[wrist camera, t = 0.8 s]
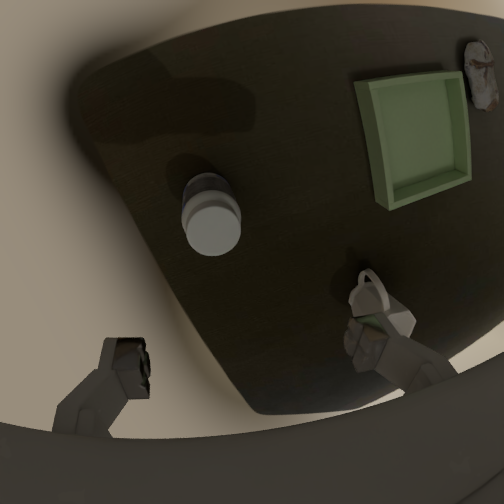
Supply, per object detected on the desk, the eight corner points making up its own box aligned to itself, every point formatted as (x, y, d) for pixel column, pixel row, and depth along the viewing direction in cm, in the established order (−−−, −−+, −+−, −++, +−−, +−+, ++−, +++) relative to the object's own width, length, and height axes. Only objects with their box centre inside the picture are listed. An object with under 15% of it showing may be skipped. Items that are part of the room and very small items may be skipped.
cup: (343, 323, 41) (368, 364, 34) (330, 268, 36) (360, 309, 29) (386, 302, 41) (415, 339, 34) (380, 245, 36) (416, 280, 29)
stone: (449, 43, 25) (464, 43, 22) (480, 38, 24) (494, 38, 22) (468, 114, 30) (482, 117, 27) (496, 102, 29) (509, 105, 27)
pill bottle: (174, 185, 28) (168, 219, 21) (219, 163, 28) (229, 189, 21) (196, 226, 31) (199, 270, 24) (239, 206, 31) (256, 244, 23)
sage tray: (352, 81, 26) (368, 81, 24) (444, 70, 26) (462, 71, 24) (375, 201, 33) (389, 211, 30) (456, 172, 33) (471, 179, 31)
